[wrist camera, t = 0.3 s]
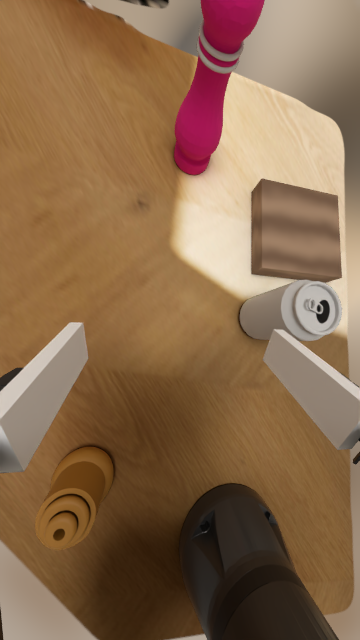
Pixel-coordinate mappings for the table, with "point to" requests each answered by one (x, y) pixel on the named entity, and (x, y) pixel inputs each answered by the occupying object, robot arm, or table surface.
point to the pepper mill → (212, 79)
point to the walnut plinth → (295, 233)
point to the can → (293, 311)
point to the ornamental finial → (74, 498)
